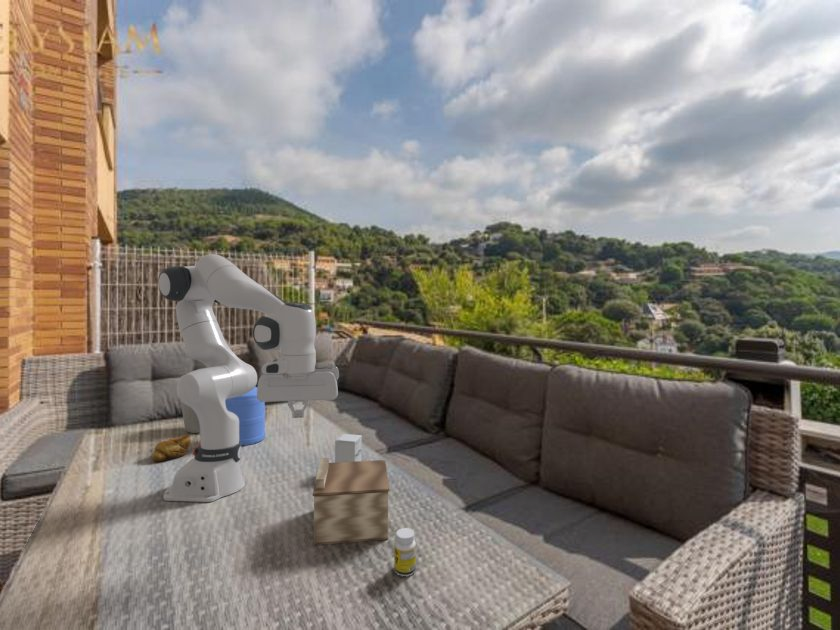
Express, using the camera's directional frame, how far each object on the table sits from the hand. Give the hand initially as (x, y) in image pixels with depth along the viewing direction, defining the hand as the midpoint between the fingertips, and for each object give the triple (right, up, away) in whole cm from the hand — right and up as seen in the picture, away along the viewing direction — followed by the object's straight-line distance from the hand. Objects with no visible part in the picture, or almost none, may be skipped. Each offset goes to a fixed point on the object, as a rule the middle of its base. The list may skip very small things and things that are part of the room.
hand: (298, 417), depth 104 cm
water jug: (-43, -27, +67) cm, 84 cm away
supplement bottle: (+29, -30, -16) cm, 44 cm away
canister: (-70, -27, +80) cm, 110 cm away
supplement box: (+7, -29, +34) cm, 45 cm away
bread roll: (-64, -28, +47) cm, 84 cm away
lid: (+14, -17, +2) cm, 22 cm away
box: (+14, -29, +3) cm, 32 cm away
